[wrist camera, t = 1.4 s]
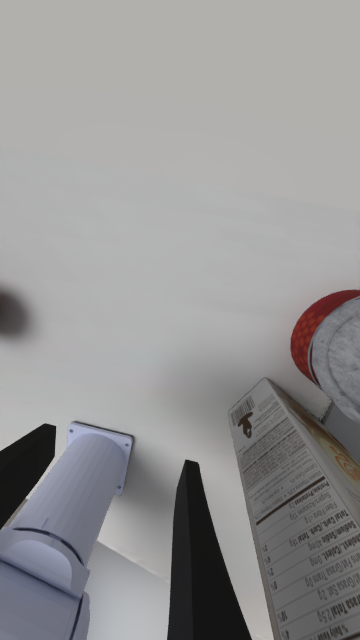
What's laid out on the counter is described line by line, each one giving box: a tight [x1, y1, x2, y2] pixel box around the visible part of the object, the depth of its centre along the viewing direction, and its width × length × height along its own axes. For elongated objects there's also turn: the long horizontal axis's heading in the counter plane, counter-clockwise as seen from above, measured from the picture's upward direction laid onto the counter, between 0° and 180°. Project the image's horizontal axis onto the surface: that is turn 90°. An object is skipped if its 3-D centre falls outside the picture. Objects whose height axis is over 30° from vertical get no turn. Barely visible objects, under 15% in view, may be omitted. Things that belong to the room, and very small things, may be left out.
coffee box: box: [228, 378, 360, 640], centre depth 11 cm, size 9×6×16 cm
